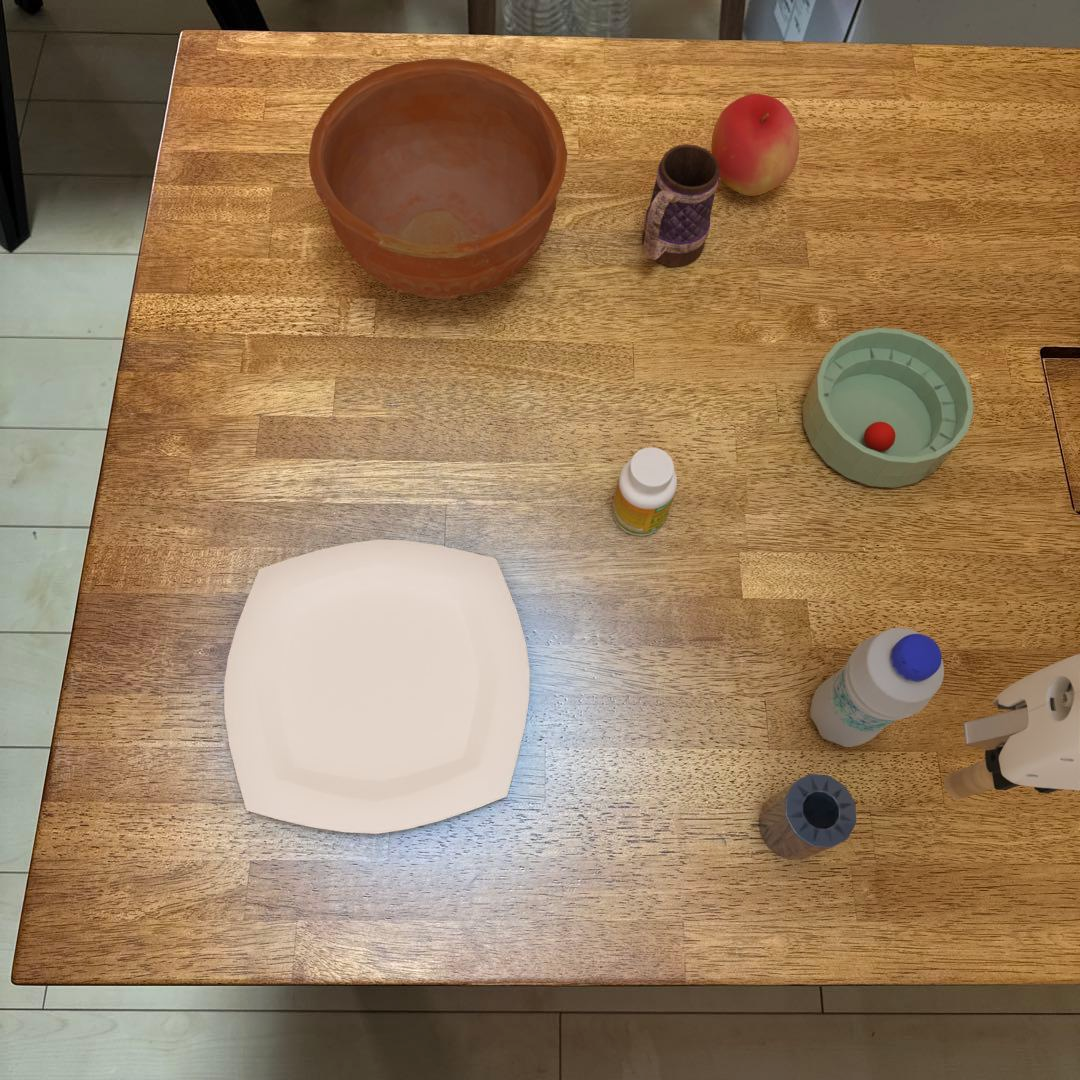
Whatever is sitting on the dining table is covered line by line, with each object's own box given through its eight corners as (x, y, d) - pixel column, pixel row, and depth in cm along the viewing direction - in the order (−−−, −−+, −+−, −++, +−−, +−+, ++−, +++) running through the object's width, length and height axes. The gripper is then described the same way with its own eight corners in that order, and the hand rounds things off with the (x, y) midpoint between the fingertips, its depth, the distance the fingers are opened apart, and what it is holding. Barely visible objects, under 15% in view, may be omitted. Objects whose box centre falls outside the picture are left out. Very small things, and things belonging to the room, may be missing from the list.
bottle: (891, 716, 92) (987, 651, 74) (846, 769, 90) (933, 715, 72) (833, 665, 94) (912, 589, 76) (787, 716, 92) (858, 650, 74)
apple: (696, 204, 115) (713, 137, 106) (709, 142, 119) (726, 72, 110) (780, 221, 115) (804, 155, 106) (790, 158, 119) (814, 89, 109)
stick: (969, 773, 70) (1076, 733, 57) (970, 800, 69) (1079, 766, 56) (942, 771, 70) (1044, 730, 57) (944, 798, 69) (1047, 763, 56)
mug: (663, 207, 115) (680, 125, 104) (716, 238, 114) (739, 159, 103) (612, 265, 112) (623, 187, 101) (665, 298, 110) (683, 222, 99)
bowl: (311, 331, 107) (283, 235, 93) (356, 151, 117) (336, 40, 103) (545, 359, 107) (551, 267, 93) (570, 175, 116) (579, 68, 103)
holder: (821, 795, 89) (854, 776, 81) (824, 861, 87) (858, 849, 79) (758, 791, 89) (784, 771, 81) (759, 857, 87) (786, 844, 79)
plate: (237, 552, 97) (232, 544, 95) (521, 541, 98) (522, 532, 96) (219, 845, 86) (213, 842, 84) (537, 827, 88) (538, 824, 86)
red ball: (902, 425, 102) (893, 425, 99) (894, 454, 102) (885, 455, 100) (874, 418, 103) (864, 418, 101) (866, 447, 104) (856, 448, 102)
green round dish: (941, 366, 108) (965, 333, 102) (955, 495, 102) (981, 467, 96) (798, 356, 108) (814, 322, 102) (804, 484, 102) (821, 455, 96)
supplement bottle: (650, 546, 98) (665, 503, 89) (602, 521, 99) (611, 475, 90) (675, 503, 100) (692, 457, 91) (627, 478, 101) (639, 430, 92)
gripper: (1046, 756, 43) (891, 820, 60) (1415, 782, 43) (1157, 838, 60) (1023, 590, 46) (882, 696, 63) (1368, 615, 46) (1135, 713, 63)
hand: (1017, 765), depth 61 cm, fingers closed on stick, 1 cm apart
